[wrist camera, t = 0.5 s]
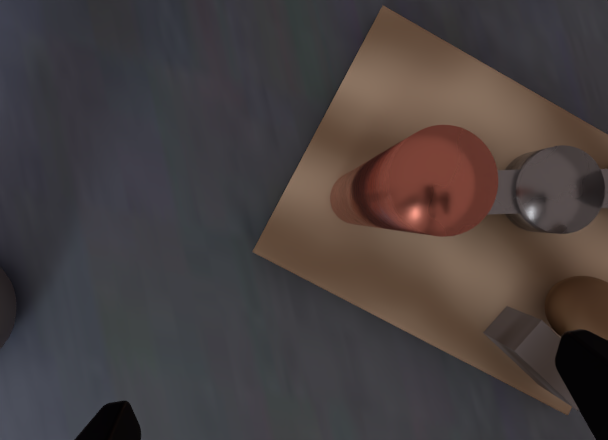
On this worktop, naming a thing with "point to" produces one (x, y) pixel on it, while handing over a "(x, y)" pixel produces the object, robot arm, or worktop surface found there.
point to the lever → (470, 187)
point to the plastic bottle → (6, 307)
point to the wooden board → (433, 249)
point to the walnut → (578, 305)
